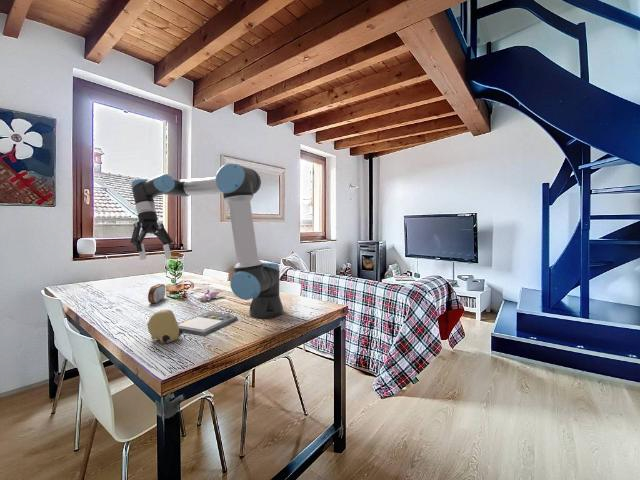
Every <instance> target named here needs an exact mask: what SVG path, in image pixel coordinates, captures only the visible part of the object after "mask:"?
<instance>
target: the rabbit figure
mask: <svg viewBox="0 0 640 480" xmlns="http://www.w3.org/2000/svg"><path fill="white" fill-rule="evenodd" d="M222 292H223V290H218V289H217V290H211V291H210V290H209V289H207V290H206V292H205V294H204V295H202V296H200V297H198V298H197V301H199V302H201V303H204V302H206V301H207V300H209V299H210V300H213V299H215V298H216V297H217V295H218V294H220V293H222Z"/></svg>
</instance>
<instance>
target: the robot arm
mask: <svg viewBox="0 0 640 480" xmlns="http://www.w3.org/2000/svg"><path fill="white" fill-rule="evenodd" d="M261 185H262V179H261V176H260V174H259V173H258V172H257V171H256V170H255V169H252V168H249V167H245V166H243V165H241V164H237V163H226V164H224V165H222V166H221V167H220V168H219V170H217V172H216V175H215V176H213V177H204V178H203V177H202V178H191V179H190V178H189V179H174V178H173V176H170V175H169V173H162V174H158V175H156V176H154V177H153V178H151V179H147V178H136V179H133V180H132V182H131V192H132V194H133V199H134V200H133V201H134V204H135V209H136V213H137V219H138V221H137V222H133V227H134V228H133V230H132V234H131V237H130V238H131V239H130V244H132V245H133V246H135V248H136V251H137V253H138V256H139V261H144V260H147V254H146V251H145V243H142V242H143V241H144V239H145V237H146V236H147V234H152V235H154V236H155V237H157V239H158V240H159V241H160V242H161V243H162V244H163V245H162V248H163V251H164V252H163V253H164V257H165V260H168V259H172V252H171V250H172V249H171V245H170V244H171V243H173V239H172V238H171V236H170V235H169V234H168V232H167V230H166V229H165V225H164V224H163V223H160V224H158V220H159V219H158V215H157V212H156V211H157V209H156V206H155V201H154V198H156V197H158V196H161V195H168V196H176V197H177V196H178V197H189V196H200V195H201V196H202V195H216V194H218V195H219V194H220V195H221V194H222V195H223V200H224V201H225V202H226V203H227V204H228V209H229V215H230V224H231V230H232V237H233V243H234V251H235V253H234V254H235V257H236V263H235V264H234V266H233V273H234V274H233V275H232V277H231V279H230V282H229V284H230V289H231V291H232V293H233V294H234V295H235V297H237V298H239V299H241V300H244V301H249V300H251V299H252V300H251V302H250V303H251V304H250V306H249V310H248V311H249V312H248V313H249V315H250V316H251V317H253V318H256V319H257V318H258V319H271V318H276V317H280V316H282V315H283V314H284V306H283V303H282V300H281V297H280V273H281V272H280V271H281V270H280V265H279V263H275V262H262V261H261V260H260V259H259V255H258V248H257V242H256V240H257V239H256V235H255V234H256V233H255V226H254V218H253V213H252V205H251V200H252V199H254V195H255V194H257V193H258V191H259V190H260V189H261Z"/></svg>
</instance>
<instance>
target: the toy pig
mask: <svg viewBox="0 0 640 480" xmlns="http://www.w3.org/2000/svg"><path fill="white" fill-rule="evenodd" d="M146 326H147V329H148V332H149V335H150V336H151V339H152V340H158V341H160V342H161V343H162V344H170V343H172V342H175V341H177V340H179V338H180V337H181V336H182V335H183V332H182V330H181V329H179V327H178V320H177V318H176V316H175V313H174V312H173V311H172V310H171V309H162V310H161V309H160V310H159V311H156V312H155V313H153V314H152V315H151V316H150V318H149V319H148V322H147V324H146Z"/></svg>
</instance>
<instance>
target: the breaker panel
mask: <svg viewBox="0 0 640 480" xmlns="http://www.w3.org/2000/svg"><path fill="white" fill-rule="evenodd" d="M237 320H238V316H237V315H231V314H230V311H224V312H223V310H216V311H215V310H214V309H209V310H208V311H207V312H203V313H201V314H199V315H196V316H193V317H191V318H189V319H187V320H184V321H181V322H179V323H178V322H177V323H178V327H179V329H181V330H182V333H187V334H193V335H200V336H206V335H208V334H210V333H212V332H214V331H216V330H218V329H220V328H222V327H225V326H226V325H228V324H230V323H233V322H235V321H237Z"/></svg>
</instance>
